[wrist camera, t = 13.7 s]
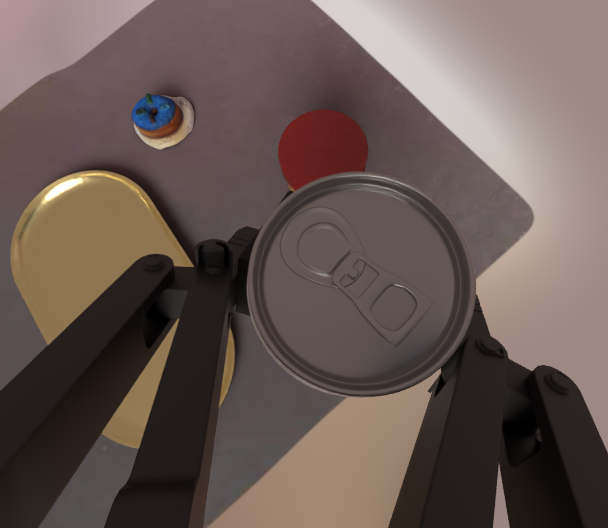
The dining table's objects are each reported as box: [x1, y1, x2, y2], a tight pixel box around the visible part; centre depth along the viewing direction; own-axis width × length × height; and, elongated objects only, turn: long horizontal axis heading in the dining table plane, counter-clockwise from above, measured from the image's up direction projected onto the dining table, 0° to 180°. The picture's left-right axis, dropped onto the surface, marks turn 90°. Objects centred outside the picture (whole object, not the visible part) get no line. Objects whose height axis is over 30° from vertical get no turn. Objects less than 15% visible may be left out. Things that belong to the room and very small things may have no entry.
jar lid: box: [278, 110, 368, 191], centre depth 28 cm, size 8×8×2 cm
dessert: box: [131, 94, 194, 149], centre depth 40 cm, size 8×7×6 cm
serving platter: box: [11, 170, 235, 448], centre depth 36 cm, size 19×35×2 cm, turn 35°
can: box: [247, 172, 476, 397], centre depth 13 cm, size 6×6×12 cm
